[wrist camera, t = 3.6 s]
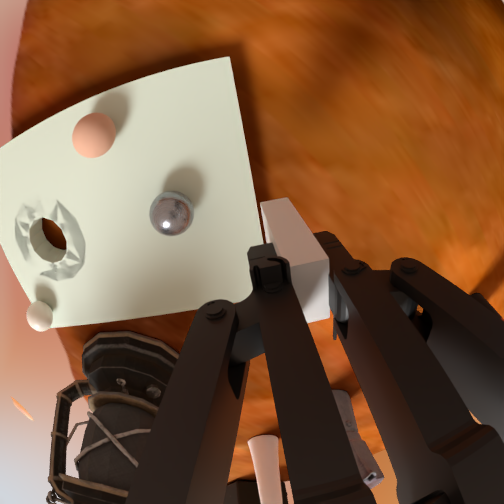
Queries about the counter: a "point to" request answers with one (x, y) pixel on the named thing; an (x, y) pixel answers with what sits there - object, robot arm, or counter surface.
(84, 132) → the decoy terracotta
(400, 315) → the robot arm
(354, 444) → the moka pot
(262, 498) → the cosmetic bottle
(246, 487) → the black rectangular block
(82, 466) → the lantern
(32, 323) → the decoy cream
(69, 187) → the board
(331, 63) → the counter surface
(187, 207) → the steel ball
